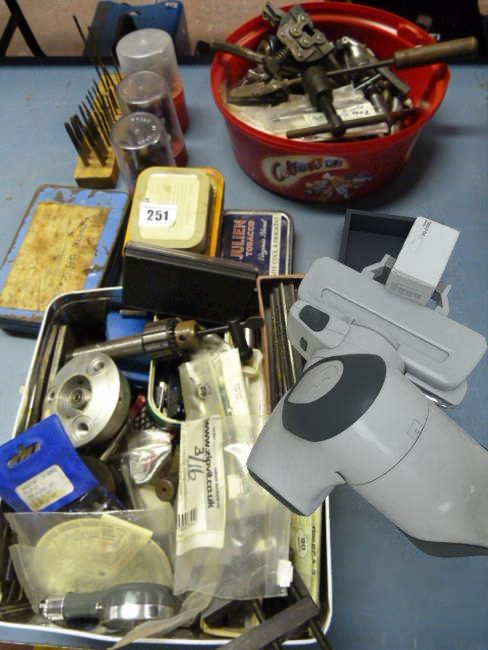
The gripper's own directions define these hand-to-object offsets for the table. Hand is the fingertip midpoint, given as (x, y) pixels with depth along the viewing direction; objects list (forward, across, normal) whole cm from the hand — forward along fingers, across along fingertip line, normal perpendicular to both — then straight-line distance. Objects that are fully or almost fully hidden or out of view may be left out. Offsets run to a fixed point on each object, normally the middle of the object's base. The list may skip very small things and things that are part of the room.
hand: (417, 272), depth 58 cm
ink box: (-1, 0, +7) cm, 7 cm away
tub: (+10, +7, +17) cm, 21 cm away
